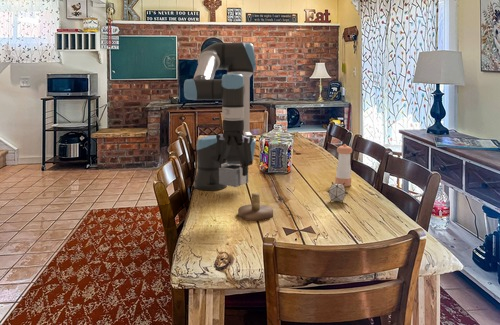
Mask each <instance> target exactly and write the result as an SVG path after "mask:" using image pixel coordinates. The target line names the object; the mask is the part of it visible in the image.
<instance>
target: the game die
mask: <svg viewBox="0 0 500 325" xmlns="http://www.w3.org/2000/svg"><path fill="white" fill-rule="evenodd" d="M344 184H345V183H343V184H335V182H333V181H331V186H330V187H329V189H327V190H326V192H327V194H328V196H329V199H330V200H329V201H330V202H329V203H332V202H341V203H342V204H344V199H345V198H346V196H347V195H349V193H348V192H347V191H346V186H344Z"/></svg>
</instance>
